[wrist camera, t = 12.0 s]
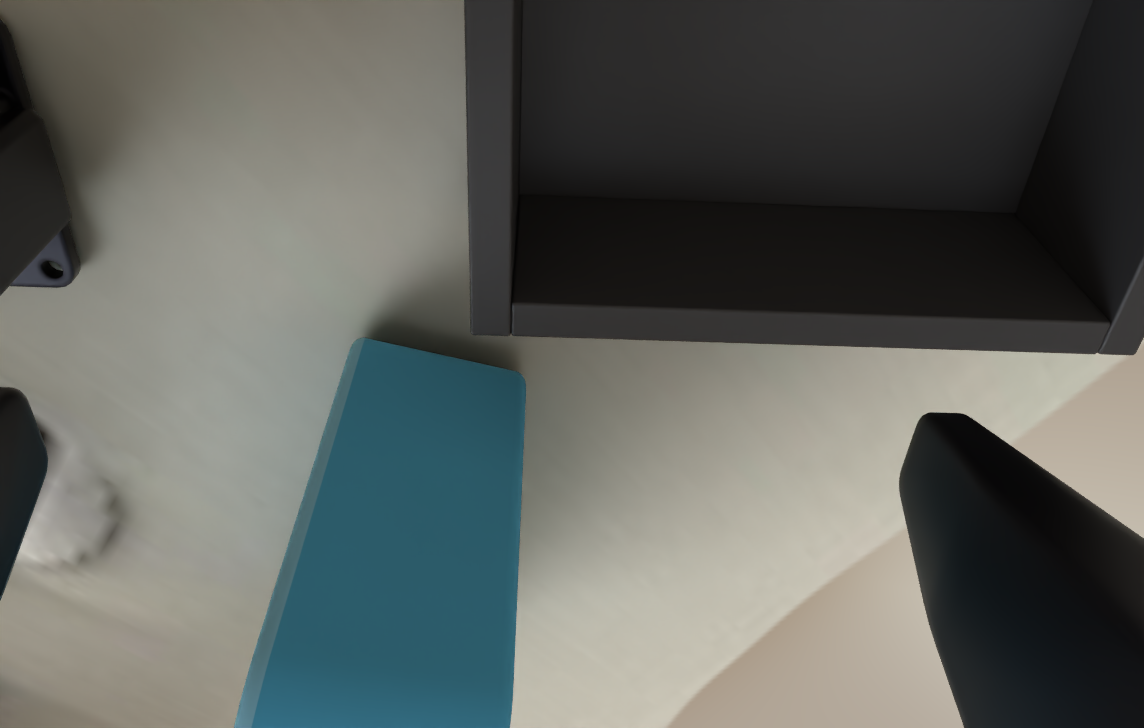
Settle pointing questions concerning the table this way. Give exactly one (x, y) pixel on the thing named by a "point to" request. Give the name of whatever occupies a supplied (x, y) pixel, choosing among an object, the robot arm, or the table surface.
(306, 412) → the table surface
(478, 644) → the data package
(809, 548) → the table surface
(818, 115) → the black box
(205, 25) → the table surface
